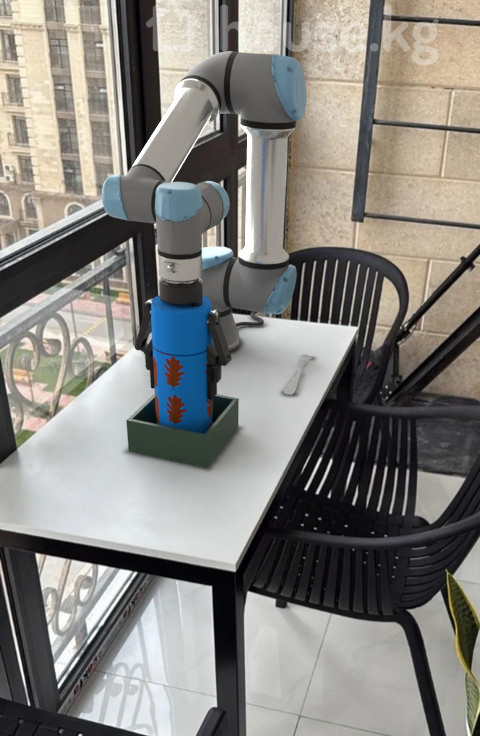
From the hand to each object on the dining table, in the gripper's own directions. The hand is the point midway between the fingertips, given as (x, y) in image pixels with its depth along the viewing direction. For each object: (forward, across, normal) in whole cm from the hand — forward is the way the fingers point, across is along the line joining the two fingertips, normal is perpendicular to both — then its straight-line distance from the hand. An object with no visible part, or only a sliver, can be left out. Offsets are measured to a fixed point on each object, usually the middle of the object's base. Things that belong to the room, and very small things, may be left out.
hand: (183, 391), depth 142 cm
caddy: (+11, 0, 0) cm, 11 cm away
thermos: (+8, 0, 0) cm, 8 cm away
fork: (+11, +12, +36) cm, 40 cm away
